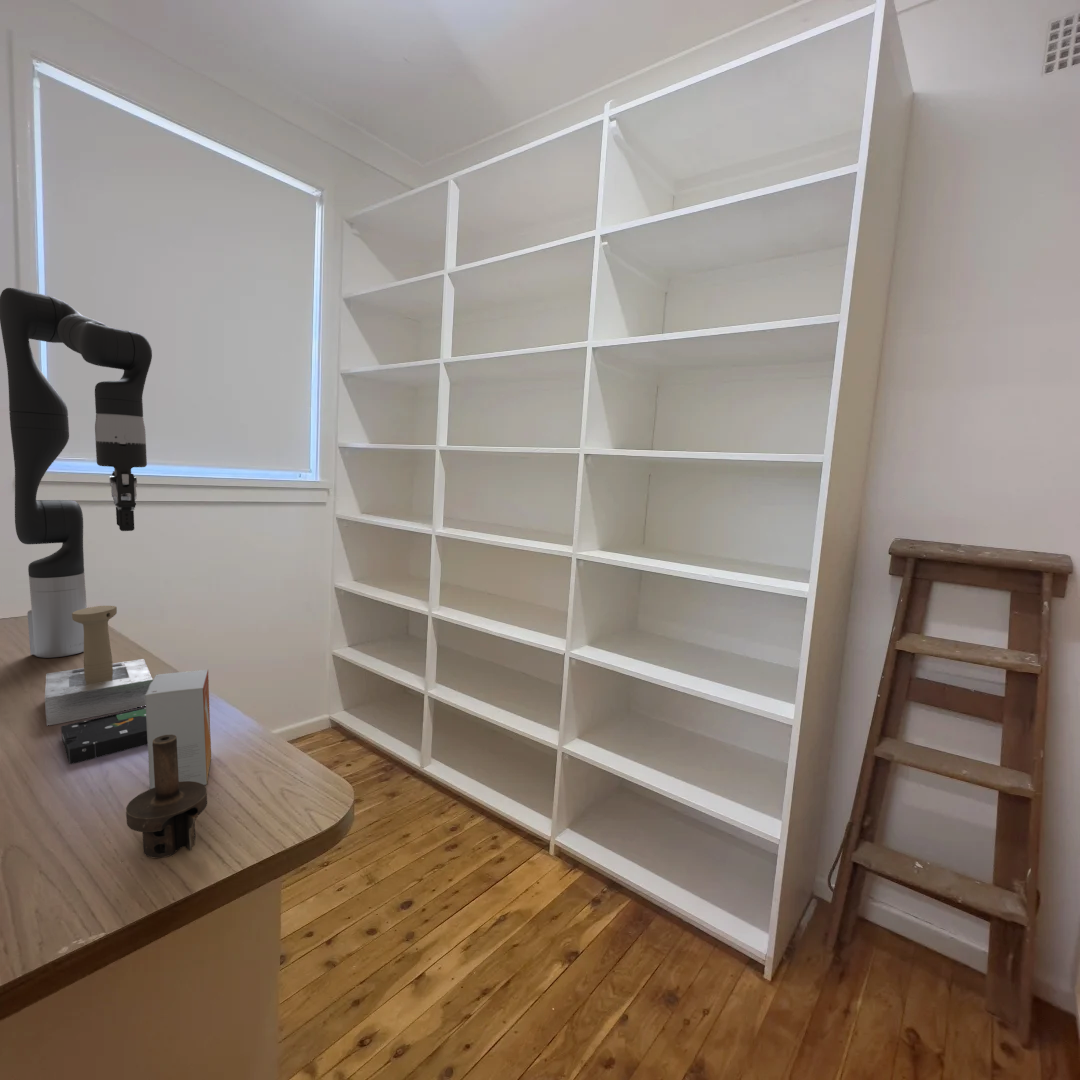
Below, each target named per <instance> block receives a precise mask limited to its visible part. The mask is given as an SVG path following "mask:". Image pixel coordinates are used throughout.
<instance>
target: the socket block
mask: <svg viewBox="0 0 1080 1080" xmlns="http://www.w3.org/2000/svg"><path fill="white" fill-rule="evenodd" d="M112 664H113V667H112V668H113V674H112V675H113V676H112V680H111V681H105V682H99V683H93V684H87V685H86V681H85V675H84V667H82V668H81V667H80V668H74V669H68V670H62V671H55V672H48V673H46V674H45V675H46V676H45V689H44V706H45V720H46V727H48V725H49V726H53V725H58V724H65V723H68V722H74V721H75V722H76V721H79V720H85V719H89V718H90V719H91V718H96V717H99V716H100V717H101V716H106V715H111V714H116V713H121V712H125V711H124V710H126V711H130V710H129V709H131V710H133V709H132V708H136V709H138V708H137V707H141V706H145V705H146V702H145V695H146V693H147V691H148V688H149V685H150V684H151V682H152V681H153V679H154V678H153V677H152V675H151V673H150V670H149V668H148V665H147V664H146V661H145V659H144V658H141V659H133V660H128V661H127V660H126V661H122V662H121V661H120V662H119V661H118V662H114V663H113V662H112ZM141 708H142V707H141Z"/></svg>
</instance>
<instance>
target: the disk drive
mask: <svg viewBox="0 0 1080 1080" xmlns="http://www.w3.org/2000/svg"><path fill="white" fill-rule="evenodd" d="M60 728H61V729H60V730H61V731H60V733H61V739H62V740H61V741H62V743H63V744H62V745H63V747H64V751H65V755H66V757H67V761H68V764H69V765H72V764H76V763H81V762H85V761H88V760H94V759H97V758H100V757H104V756H108V755H111V754H115V753H119V752H124V751H127V750H130V749H135V748H138V747H143V746H146V745H147V746H148V741H147V722H146V707H141V708H136V709H131V710H126V711H121V712H117V713H113V714H107V715H103V716H100V717H97V718H96V717H94V718H92V719H91V718H90V719H88V720H87V719H86V720H82V721H76V722H73V723H72V722H71V723H68V724H65V725H61V726H60Z"/></svg>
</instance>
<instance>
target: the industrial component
mask: <svg viewBox="0 0 1080 1080" xmlns="http://www.w3.org/2000/svg"><path fill="white" fill-rule="evenodd" d="M152 746H153V760H154V780H155V788H152V789H150V788H149V789H148V790H145V791H143V792H141V793H140V794H138V795H136V796H134V797H133V798H132V799H131V800H130V801H129V802H128V804H127V805H126V808H125V813H126V814H125V815H126V826H127V827H128V828H129V829H130V830H132V831H134V832H140V833H142V849H143V854H144V855H145V856H146V857H149V858H154V859H155V858H156V859H157V858H165V857H169V856H171V857H174V856H173V855H174V854H175V853H176V851H178V850H180V849H182V848H184V847H185V848H186V849H187V850H189V852H191V851H192V848H193V847H194V846H195V845H196V844H195V843H196V842H195V840H196V827H195V825H196V824H195V823H196V820H197V818H198V816H200V814H202V813H203V812H204V810H206V808H207V806H208V791H207V787H206V786H205V785H203V784H201V783H198V782H192V781H183V782H179V777H178V755H177V737H176V736H175V735H172V734H171V735H162V736H159V737H157V738H155V739H154V740H153V744H152Z"/></svg>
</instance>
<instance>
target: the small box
mask: <svg viewBox="0 0 1080 1080" xmlns="http://www.w3.org/2000/svg"><path fill="white" fill-rule="evenodd" d="M152 679H153V681H152V682H151V684H150V685H149V688H148V691H147V693H146V695H145V702H146V707H145V708H146V722H147V741H148V744H147V751H148V752H147V753H148V756H147V757H148V778H149V789H152V788H155V780H154V760H153V746H152V744H153V740H154V739H155V738H157V737H159V736H162V735H171V734H172V735H175V736H176V737H177V755H178V777H179V782H183V781H192V782H198V783H201V784H203V785H204V786H205V785H207V784H208V779H209V778H208V777H209V772H210V765H211V761H212V740H211V739H212V738H211V715H210V714H211V713H210V691H209V690H210V687H209V685H210V684H209V681H210V680H209V669H198V670H189V671H178V672H169V673H168V672H167V673H160V674H155V676H154V677H153V678H152Z"/></svg>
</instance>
